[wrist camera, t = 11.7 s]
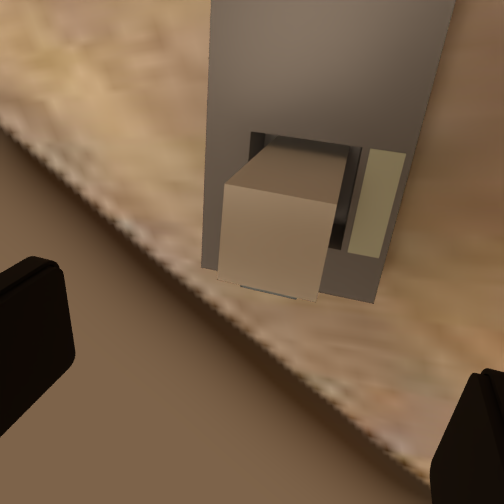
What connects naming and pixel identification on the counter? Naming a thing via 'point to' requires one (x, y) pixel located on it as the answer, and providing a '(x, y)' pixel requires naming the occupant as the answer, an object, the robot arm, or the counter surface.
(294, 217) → the plug
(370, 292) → the socket block
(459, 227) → the counter surface
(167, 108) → the counter surface
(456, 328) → the counter surface
